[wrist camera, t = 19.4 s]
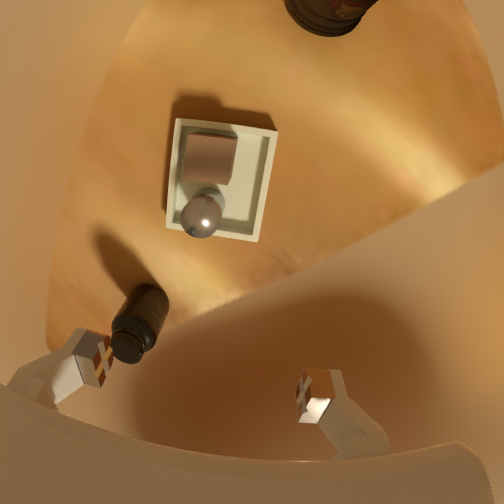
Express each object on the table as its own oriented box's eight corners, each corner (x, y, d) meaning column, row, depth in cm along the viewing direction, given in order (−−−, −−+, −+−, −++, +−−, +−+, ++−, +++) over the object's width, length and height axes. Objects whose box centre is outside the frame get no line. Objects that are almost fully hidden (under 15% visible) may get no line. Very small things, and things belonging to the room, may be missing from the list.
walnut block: (197, 131, 34) (187, 134, 29) (238, 137, 34) (234, 140, 29) (192, 170, 36) (182, 179, 31) (231, 176, 36) (227, 185, 32)
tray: (181, 118, 34) (175, 118, 32) (277, 131, 34) (278, 131, 32) (170, 221, 40) (165, 227, 38) (257, 235, 40) (257, 242, 38)
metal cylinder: (193, 185, 37) (181, 197, 31) (227, 189, 37) (221, 203, 31) (189, 217, 39) (178, 234, 33) (222, 222, 39) (216, 240, 33)
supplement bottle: (135, 316, 47) (109, 366, 36) (126, 281, 44) (95, 329, 33) (173, 318, 47) (153, 372, 36) (166, 283, 44) (142, 334, 33)
